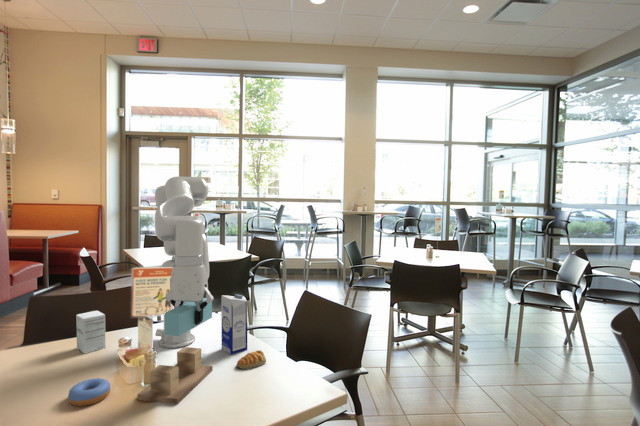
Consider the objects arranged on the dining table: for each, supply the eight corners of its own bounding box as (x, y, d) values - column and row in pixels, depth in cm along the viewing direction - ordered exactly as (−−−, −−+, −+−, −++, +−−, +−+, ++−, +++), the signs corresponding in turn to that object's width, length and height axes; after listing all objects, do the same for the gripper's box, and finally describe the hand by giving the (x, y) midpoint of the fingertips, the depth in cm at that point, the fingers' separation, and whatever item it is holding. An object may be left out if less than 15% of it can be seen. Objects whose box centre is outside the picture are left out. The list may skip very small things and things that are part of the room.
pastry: (243, 372, 120) (243, 361, 120) (232, 366, 125) (232, 354, 125) (267, 364, 126) (267, 352, 126) (256, 357, 131) (256, 346, 131)
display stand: (137, 399, 104) (137, 372, 103) (178, 367, 123) (178, 344, 123) (177, 404, 101) (177, 377, 101) (212, 370, 121) (212, 347, 120)
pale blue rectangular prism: (164, 334, 104) (164, 312, 103) (199, 315, 119) (199, 297, 119) (178, 336, 103) (178, 314, 102) (212, 317, 118) (211, 298, 117)
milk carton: (221, 348, 138) (221, 294, 137) (237, 344, 142) (237, 291, 141) (231, 355, 133) (230, 298, 132) (247, 349, 137) (247, 295, 136)
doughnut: (84, 387, 110) (83, 372, 109) (118, 389, 109) (117, 375, 109) (59, 409, 100) (58, 393, 99) (96, 412, 99) (96, 396, 99)
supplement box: (76, 348, 137) (75, 314, 136) (98, 342, 143) (98, 309, 142) (83, 354, 132) (82, 318, 132) (106, 348, 138) (105, 313, 137)
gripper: (154, 261, 107) (155, 324, 109) (211, 264, 105) (211, 329, 106) (169, 257, 115) (170, 316, 116) (222, 259, 112) (222, 320, 113)
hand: (189, 321), depth 111 cm, fingers closed on pale blue rectangular prism, 4 cm apart
